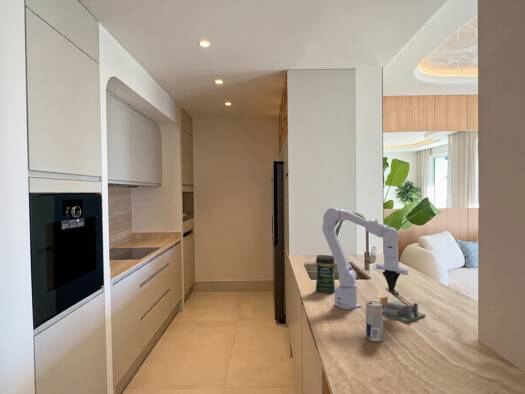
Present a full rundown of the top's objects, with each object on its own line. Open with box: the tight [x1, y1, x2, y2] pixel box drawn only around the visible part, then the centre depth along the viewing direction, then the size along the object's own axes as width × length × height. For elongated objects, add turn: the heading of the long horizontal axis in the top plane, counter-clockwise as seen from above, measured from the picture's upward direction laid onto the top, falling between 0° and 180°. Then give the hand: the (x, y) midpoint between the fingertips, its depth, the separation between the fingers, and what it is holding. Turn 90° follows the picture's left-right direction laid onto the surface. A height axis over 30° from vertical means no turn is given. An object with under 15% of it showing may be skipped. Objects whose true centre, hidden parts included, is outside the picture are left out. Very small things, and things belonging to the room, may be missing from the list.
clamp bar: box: [385, 287, 415, 309], centre depth 130 cm, size 13×3×1 cm, turn 30°
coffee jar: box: [315, 254, 336, 294], centre depth 163 cm, size 10×8×19 cm
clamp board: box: [379, 295, 426, 324], centre depth 131 cm, size 12×16×6 cm
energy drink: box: [365, 300, 384, 343], centre depth 108 cm, size 5×5×12 cm
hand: (391, 288), depth 133 cm, fingers closed
